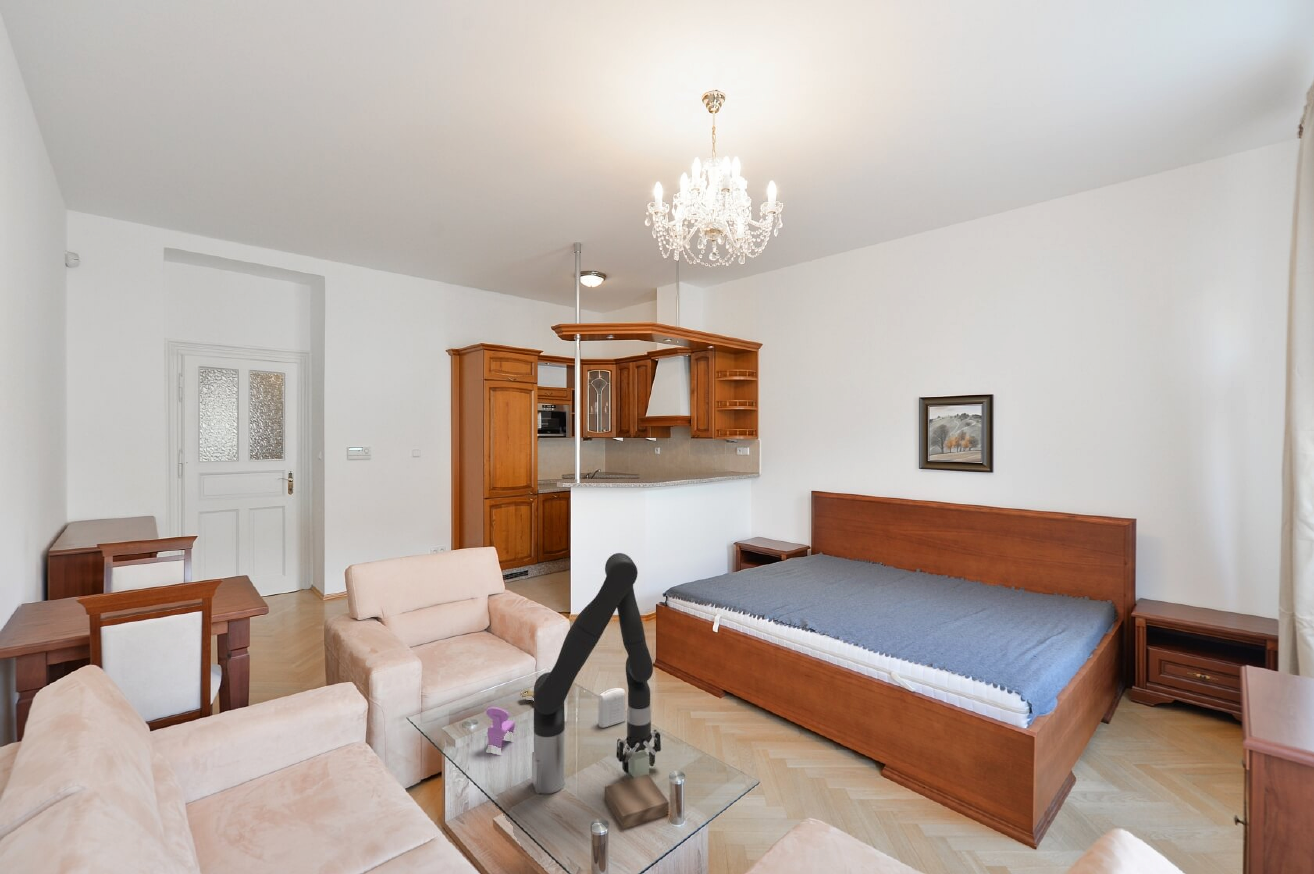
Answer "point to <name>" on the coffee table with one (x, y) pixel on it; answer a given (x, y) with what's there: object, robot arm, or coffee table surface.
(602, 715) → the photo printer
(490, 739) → the toy chair
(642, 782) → the walnut block
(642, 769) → the sage block
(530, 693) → the oil lamp
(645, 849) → the coffee table surface
